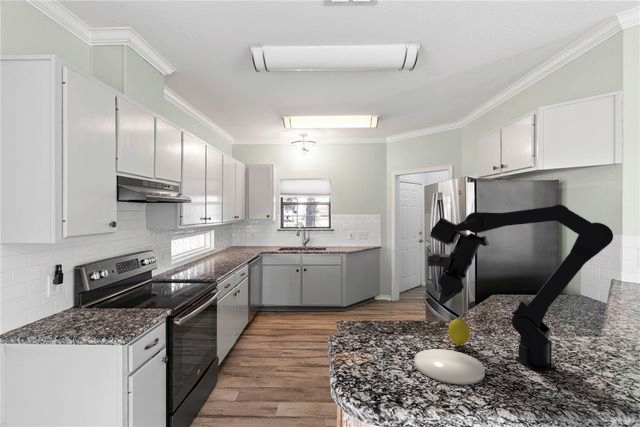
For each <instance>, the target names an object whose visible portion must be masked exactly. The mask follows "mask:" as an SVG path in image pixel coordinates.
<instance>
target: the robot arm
mask: <svg viewBox="0 0 640 427" xmlns="http://www.w3.org/2000/svg"><path fill="white" fill-rule="evenodd" d="M544 222H545V223H547V222H559V223H560V224H561V225H563V226H564V227H566V228H568V230H570V231H571V232H573V233H575V234H577V237H576V239H575V241H574V243H573V246H572V247H571V249H570V252H569V253H568V254H567V256H566V257H565V258H564V259H563V260H562V262H561V263H560V264H559V265H558V267H557V269H555V270H554V272H553V273H552V274H551V276H550V277H549V278H548V280H547V281H546V282H545V283H544V284H543V286H542V287H541V288H540V290H539V291H537V293H536V295H535V296H533V297H532V298H531V299H528V298H527V297H526V296H523V298H522V299H521V301H520V302H519V304H518V306H516V307H515V308H514V309H513V311H512V312H511V315H513V316H512V318H511V324H512V327H513V329H514V330H515V331H516V332H517V333H518V334H519V336H520V337H519V343H518V356H515V360H517V361H518V362H520V363H522V364H524V365H525V366H526V367H528V368H529V369H531V370H533V371H539V370H541V371H543V370H554V369H555V370H556V369H558V366H557V365H555V364H553V363H552V362H553V360H552V356H553V355H552V354H553V353H552V349H553V347H552V345H553V344H552V340H551V339H550V335H551V333H552V329H551V328H550V327H549V326H548V325H547V324H546V323H545V322H544V318H545V316H546V315H547V312H548V310H549V308H550V307H551V305H553V303H554V302H555V301H556V300H557V298H558V297H559V296H560V295H561V294H562V292H563V291H564V290H565V288H566V287H567V286H568V285H569V284H570V282H571V281H572V280H573V278H574V277H576V275H577V274H578V272H580V270H581V269H582V268H583V267H584V265H585V264H586V263H587V262H589V261H590V260H591V259H592V258H593V257H595V256H597V254H599V253H601V252H602V251H603V250H604V249H605V248H607V247H608V246H610V244H612V241H613V240H614V234H613V231H612V229H611V228H610V227H609V226H608V225H606V224H605V223H601V222H595V221H593V222H591V221H589V220H587V219H586V218H584V217H583V216H581V215H579V214H577V213H575V212H574V211H572V210H570V209H569V207H567V206H566V205H563V204H555V205H551V206H546V207H545V206H544V207H537V208H531V209H522V210H515V211H514V210H513V211H507V212H487V211H486V212H483V211H481V212H479V211H478V212H477V211H476V212H475V211H474V212H470V213H469V214H468V215H467V216H466V218H465V219H464V220H463V221H461V222H459V223H454V222H452V221H450V220H448V219H447V218H444V217H440V218H439V219H438V221H437V222H436V223H435V225H434V226H433V227H432V228H431V231H430V234H429V235H430V238H431V239H434V240H436V241H438V242H440V243H442V244H443V245H446V246H448V247H449V246H451V245H455V246H454V247H453V250H451V251H450V254H449V253H447V254H446V253H440V252H439V253H438V252H429V253H428V255H427V266H428V267H440V268H443V270H442V272H441V274H440V277H439V278H438V285H439V286H440V287H441V290H440V295H439V298H438V303H437V304H438V305H439V306H444V305H445V304H446V303H447V302H449V301H450V300H451V299H454V297H455V296H457V295H458V294H460V293H462V291H463V289H464V287H465V282H464V279H465V278H466V276H467V273H468V270H469V269H470V267H471V266H472V264H473V260H474V259H475V256H476V254H477V252H478V251H479V248H480V246H483V247H488V246H490V243H489V240H488V238H487V235H483V236H479V235H477V234H480V233H486V232H489V231H493V230H496V229H500V228H503V227H508V226H509V227H510V226H517V225H526V224H537V223H544ZM465 231H467V232H468V231H469V234H467V233H464V232H465Z"/></svg>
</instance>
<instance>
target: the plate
mask: <svg viewBox="0 0 640 427" xmlns="http://www.w3.org/2000/svg"><path fill="white" fill-rule="evenodd" d="M414 367H415V368H416V369H417V370H418V371H419V372H420V373H421V374H423V375H424V376H427V377H428V378H431V379H433V380H436V381H439V382H442V383H447V384H453V385H473V384H476V383H477V384H478V383H479V382H481V381H482V380H484V379H485V377H486V374H485V373H486V368H485V365H483V363H482V362H480V361H479V360H478V359H477V358H474V357H473V356H470V355H468V354H466V353H463V352H459V351H455V350H449V349H443V348H441V349H440V348H433V349H432V348H431V349H424V350H422V351H419V352H417V353H416V354H415V355H414Z"/></svg>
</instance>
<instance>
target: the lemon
mask: <svg viewBox="0 0 640 427" xmlns="http://www.w3.org/2000/svg"><path fill="white" fill-rule="evenodd" d="M470 332H471V331H470V328H469V325H468V323H467V322H466V321H464V320H463V319H461V318H460V317H457V318H456V319H453V320H451V321H450V323H449V326H448V335H449V339H450V341H452V343H454V344H456V346H457V347H460V346H462V345H465V344H467V343H468V341H469V338H470V334H471V333H470Z"/></svg>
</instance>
